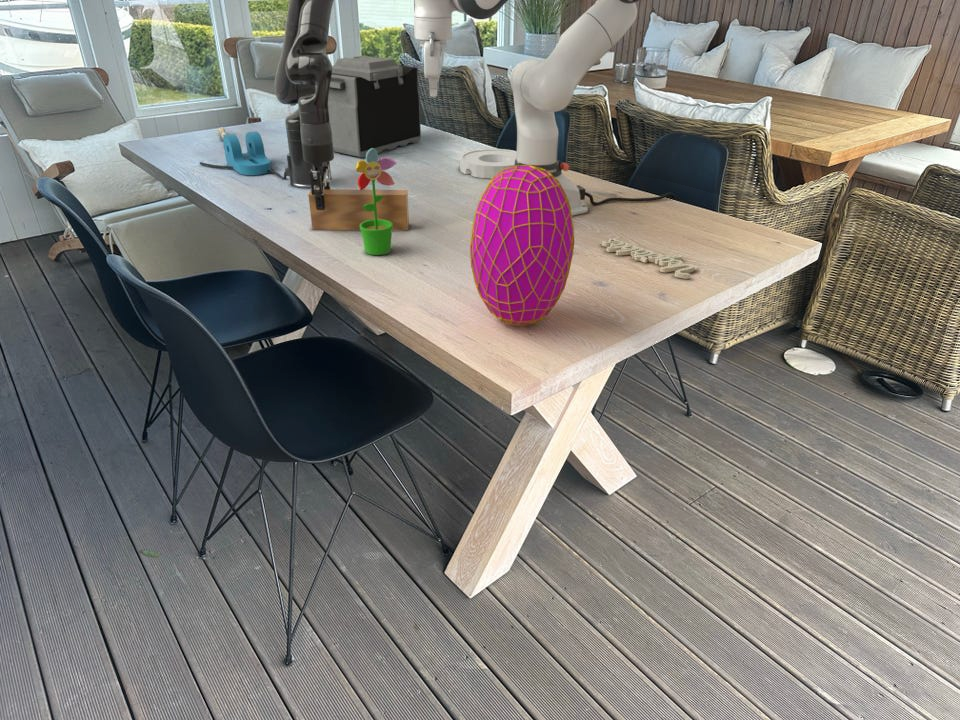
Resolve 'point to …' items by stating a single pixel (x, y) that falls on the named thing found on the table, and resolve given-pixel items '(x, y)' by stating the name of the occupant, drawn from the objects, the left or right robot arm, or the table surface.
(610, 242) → the decorative sign
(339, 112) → the electronic device
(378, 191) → the bar
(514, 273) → the decorative egg
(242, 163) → the camera mount
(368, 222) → the potted flower
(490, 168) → the ashtray
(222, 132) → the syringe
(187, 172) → the table surface
